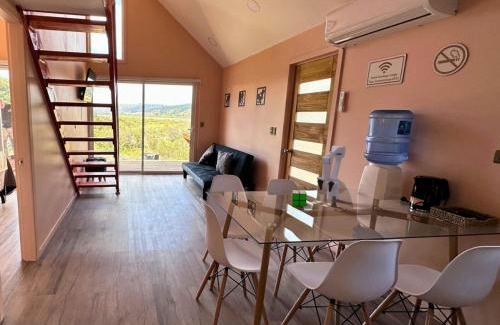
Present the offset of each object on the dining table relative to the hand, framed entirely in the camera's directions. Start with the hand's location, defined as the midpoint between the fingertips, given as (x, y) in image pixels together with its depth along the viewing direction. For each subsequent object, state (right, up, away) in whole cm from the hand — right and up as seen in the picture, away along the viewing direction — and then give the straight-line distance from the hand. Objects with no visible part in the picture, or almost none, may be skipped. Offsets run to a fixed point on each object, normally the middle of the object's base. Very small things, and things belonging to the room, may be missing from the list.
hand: (325, 190), depth 220 cm
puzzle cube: (-20, -11, -2) cm, 23 cm away
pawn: (+4, -11, -7) cm, 13 cm away
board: (+1, -11, -3) cm, 11 cm away
